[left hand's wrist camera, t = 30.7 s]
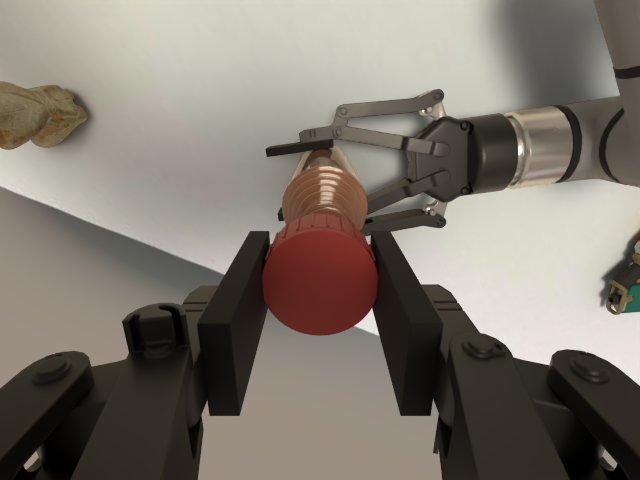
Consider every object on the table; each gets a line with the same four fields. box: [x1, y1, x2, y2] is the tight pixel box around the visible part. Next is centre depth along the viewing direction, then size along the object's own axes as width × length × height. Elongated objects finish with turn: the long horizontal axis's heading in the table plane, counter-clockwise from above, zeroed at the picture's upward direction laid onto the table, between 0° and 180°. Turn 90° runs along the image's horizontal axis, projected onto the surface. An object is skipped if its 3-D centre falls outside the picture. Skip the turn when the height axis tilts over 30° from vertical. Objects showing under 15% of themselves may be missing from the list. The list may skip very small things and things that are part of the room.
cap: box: [262, 213, 378, 335], centre depth 13 cm, size 4×4×2 cm
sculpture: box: [0, 82, 88, 150], centre depth 33 cm, size 6×7×15 cm
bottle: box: [282, 145, 368, 231], centre depth 30 cm, size 6×6×25 cm
